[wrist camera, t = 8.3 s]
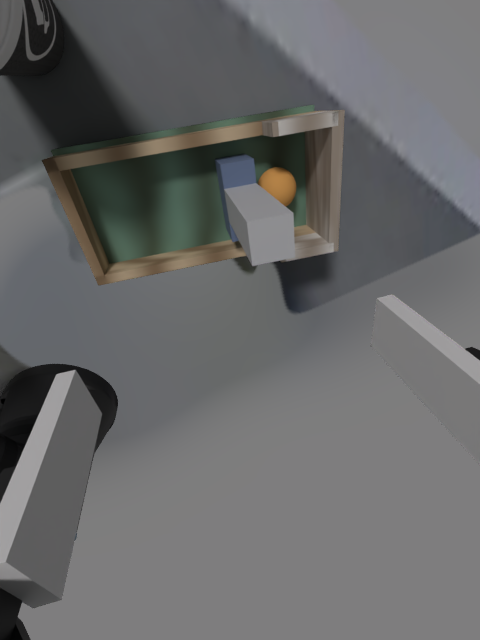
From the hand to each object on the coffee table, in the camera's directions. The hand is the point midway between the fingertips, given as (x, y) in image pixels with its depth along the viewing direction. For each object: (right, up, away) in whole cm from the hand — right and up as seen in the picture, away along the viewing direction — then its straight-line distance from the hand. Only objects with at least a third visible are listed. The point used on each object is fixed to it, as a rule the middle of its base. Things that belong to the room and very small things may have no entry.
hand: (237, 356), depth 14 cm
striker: (0, +15, +19) cm, 24 cm away
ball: (+4, +15, +18) cm, 24 cm away
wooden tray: (-4, +15, +20) cm, 26 cm away
